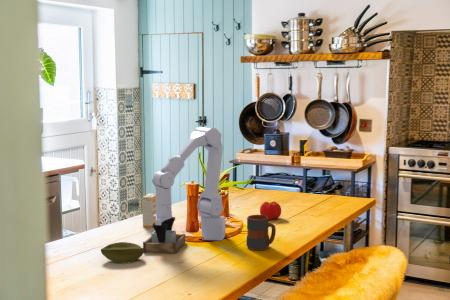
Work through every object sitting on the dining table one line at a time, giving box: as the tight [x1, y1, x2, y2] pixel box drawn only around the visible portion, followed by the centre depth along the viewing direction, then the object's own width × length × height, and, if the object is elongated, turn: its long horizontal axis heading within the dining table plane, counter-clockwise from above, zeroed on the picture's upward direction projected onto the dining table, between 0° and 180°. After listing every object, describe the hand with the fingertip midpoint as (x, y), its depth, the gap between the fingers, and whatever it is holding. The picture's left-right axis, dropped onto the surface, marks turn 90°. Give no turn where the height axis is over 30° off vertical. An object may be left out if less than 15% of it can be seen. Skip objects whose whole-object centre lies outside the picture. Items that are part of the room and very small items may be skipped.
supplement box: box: [141, 193, 156, 228], centre depth 256 cm, size 8×5×13 cm, turn 168°
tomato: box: [259, 200, 282, 221], centre depth 265 cm, size 9×9×8 cm
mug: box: [246, 214, 277, 251], centre depth 220 cm, size 9×12×12 cm
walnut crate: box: [142, 233, 186, 255], centre depth 223 cm, size 12×13×4 cm
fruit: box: [100, 241, 145, 264], centre depth 208 cm, size 11×12×7 cm
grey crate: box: [150, 230, 177, 244], centre depth 223 cm, size 8×5×6 cm, turn 79°
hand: (164, 239), depth 223 cm, fingers open, 7 cm apart
